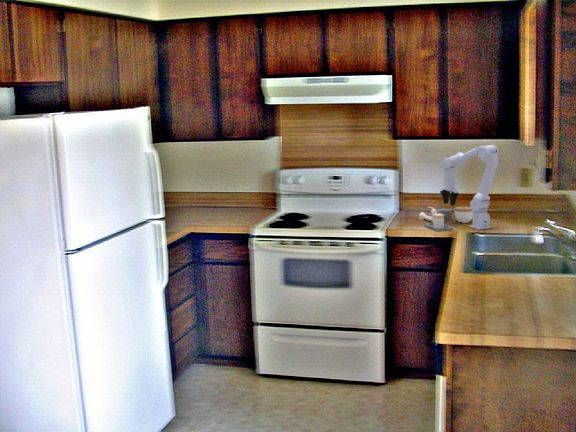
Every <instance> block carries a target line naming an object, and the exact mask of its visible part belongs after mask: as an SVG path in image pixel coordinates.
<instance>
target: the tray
mask: <svg viewBox="0 0 576 432" xmlns="http://www.w3.org/2000/svg"><path fill="white" fill-rule="evenodd" d="M423 227H425V228H427V229H430V230H433V231H435V232H443V231H453V230H454V227H453V226H451V225H447V224H446V223H445V224H444V228H437V227H434V226H433V222H429V223H424V225H423Z"/></svg>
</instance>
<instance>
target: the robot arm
mask: <svg viewBox="0 0 576 432" xmlns="http://www.w3.org/2000/svg"><path fill="white" fill-rule="evenodd" d="M499 152H500V151H499V149H498V147H497V146H496V145H495V144H489V145H479V146H476V147H475V148H472V149H471V150H469V151H467V152H465V153H464V152H459V151H458V152H457V153H456V154H454V155H450V156H449V157H445V158H443V159H442V161H441V166H442V167H443V185H442V186H441V190H440V191H439V192H440V195H441V196H442V201H443V204H444V205H447V204H448V203H449V204H450V206H451V207H452V206H455V205H456V202H457V200H458V196H459V194H460V193H459V191H458V189H457V188H456V185H455V184H456V183H455V182H456V168H457V166H459V165H462V164H465V163H467V160H469V159H470V158H473V157H479V158H480V159H481V161H483V162H484V164H485V165H486V166H485V169H484V173H483V175H482V178H481V182H480V183H479V186H478V191H477V193H476V194H475V195H474V196H473V198H472V200H471V201H470V202H469V207H470V208H471V209H472V211H473V218H472V225H469V226H468V227H469V228H473V229H476V230H486V229H487V230H488V229H492V227H491V216H490V214H489V213H488V209H489V207H490V205H491V204H490V202H491V201H490V199H491V197H490V196H489V193H490V190H491V187H492V184H493V181H494V178H495V175H496V172H497V169H498V166H499V157H498V155H499Z"/></svg>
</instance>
